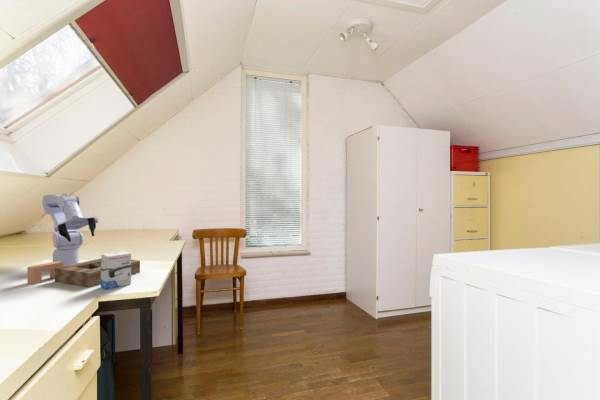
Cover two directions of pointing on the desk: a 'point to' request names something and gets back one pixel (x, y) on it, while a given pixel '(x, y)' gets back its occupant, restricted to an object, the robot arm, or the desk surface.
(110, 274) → the ink box
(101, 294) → the desk surface
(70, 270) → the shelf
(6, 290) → the desk surface
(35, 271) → the pink notched block
